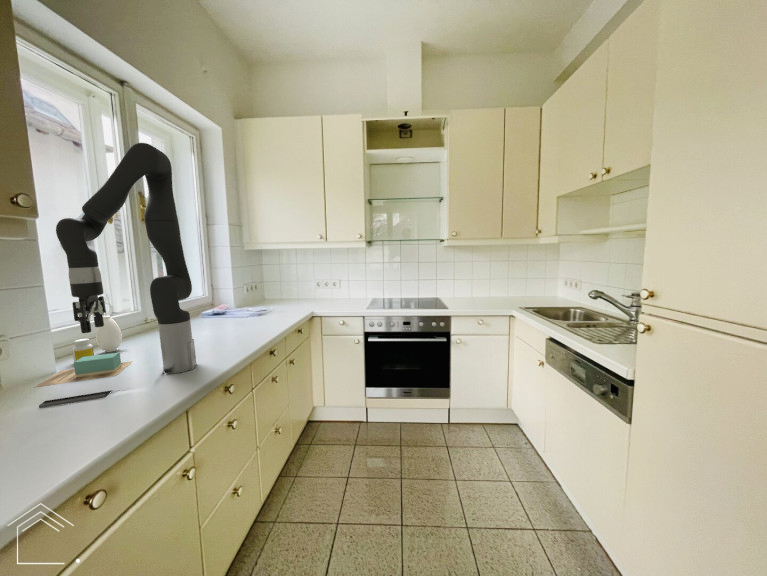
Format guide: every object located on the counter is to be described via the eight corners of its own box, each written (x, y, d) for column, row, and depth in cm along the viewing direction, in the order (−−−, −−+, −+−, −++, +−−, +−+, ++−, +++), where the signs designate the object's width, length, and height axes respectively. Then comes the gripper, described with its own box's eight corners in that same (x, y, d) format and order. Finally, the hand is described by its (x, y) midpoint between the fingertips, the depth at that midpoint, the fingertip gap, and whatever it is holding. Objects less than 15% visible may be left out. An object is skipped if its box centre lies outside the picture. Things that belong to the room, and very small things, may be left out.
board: (133, 365, 111) (133, 361, 111) (117, 379, 98) (116, 375, 98) (61, 374, 104) (61, 370, 104) (34, 392, 91) (33, 387, 91)
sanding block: (121, 366, 106) (119, 352, 106) (114, 371, 101) (112, 357, 101) (84, 371, 103) (82, 356, 102) (75, 377, 98) (73, 362, 97)
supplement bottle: (98, 363, 114) (94, 338, 112) (79, 369, 109) (75, 342, 107) (91, 361, 116) (87, 337, 115) (72, 367, 111) (68, 341, 110)
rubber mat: (119, 383, 96) (119, 381, 95) (105, 397, 86) (104, 394, 86) (61, 392, 90) (60, 389, 90) (39, 408, 81) (38, 405, 81)
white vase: (108, 349, 131) (102, 308, 129) (128, 348, 132) (122, 307, 130) (93, 355, 123) (87, 312, 121) (114, 354, 124) (108, 311, 122)
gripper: (89, 282, 93) (97, 333, 95) (110, 278, 106) (117, 323, 108) (57, 284, 90) (66, 336, 92) (83, 280, 103) (90, 326, 105)
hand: (93, 329), depth 100 cm, fingers open, 8 cm apart
